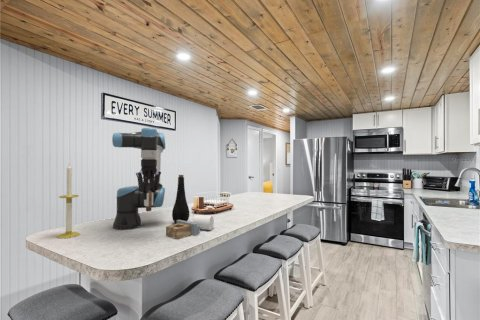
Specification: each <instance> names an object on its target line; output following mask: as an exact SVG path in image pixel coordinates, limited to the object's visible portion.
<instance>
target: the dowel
mask: <svg viewBox="0 0 480 320" xmlns="http://www.w3.org/2000/svg"><path fill="white" fill-rule="evenodd" d="M147 193H149V206H146V208H145V211H146V212H152V208H151V194H152V191H147Z"/></svg>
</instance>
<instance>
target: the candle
mask: <svg viewBox="0 0 480 320" xmlns="http://www.w3.org/2000/svg"><path fill="white" fill-rule="evenodd" d="M72 171H73V168H72V166H71V164H70V163H68V166H67V167H66V194H65V195H59V198H60V199H65V202H66V203H65V232H64V233H60V234H58V235H57V239H62V238H63V239H71V237H72V238H76V237H79V236H80V235H81V233H80V232H77V231H73V227H72V226H73V225H72V224H73V198H78V197H79V196H80V195H79V194H72V191H73V190H72V189H73V188H72V186H73V184H72V182H73V181H72V180H73V179H72V177H73V174H72V173H73V172H72ZM78 235H79V236H78Z"/></svg>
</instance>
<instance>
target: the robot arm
mask: <svg viewBox="0 0 480 320" xmlns="http://www.w3.org/2000/svg"><path fill="white" fill-rule="evenodd" d="M111 137H112V141H111V142H112V146H113V147H115V148H134V149H140V158H142V159H140V167H141V169H140V171H137V172H135V176H136V177H137V185H132V186H125V187H121V188H118V189H117V191H116V197H115V198H116V213H115V214H116V215H115V216H114V220H113V224H112V226H113V227H112V228H113V229H115V230H121V231H122V230H133V229H137V228H140V227H141V226H142V220H141V216H140V214H139V209H146V206H149V193H147V191H152V194H151V209H152V208H154V209H155V208H161V207H163V205H164V200H165V192H166V188H165V187H163V184H162V183H161V174H162V171H161V161H162V158H161V156H162V153H163V152H164V150H166V140H165V138H166V137H165V134H164V133H163V132H158V130H157V128H156V127H155V128H153V127H143V128H141V131H136V132H114V133H112V136H111Z"/></svg>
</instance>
